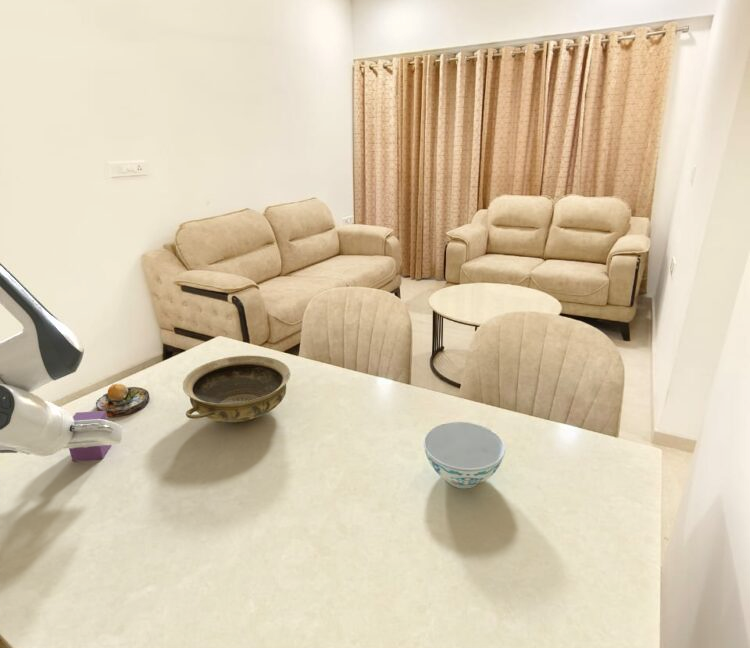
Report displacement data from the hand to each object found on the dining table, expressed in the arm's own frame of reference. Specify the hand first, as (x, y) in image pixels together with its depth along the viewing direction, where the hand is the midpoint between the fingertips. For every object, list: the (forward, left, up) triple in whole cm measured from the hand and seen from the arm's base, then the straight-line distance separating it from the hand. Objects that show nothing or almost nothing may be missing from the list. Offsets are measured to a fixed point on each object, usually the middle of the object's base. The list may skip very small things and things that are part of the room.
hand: (80, 444), depth 101 cm
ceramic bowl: (+33, -2, -5) cm, 33 cm away
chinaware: (+58, -50, -5) cm, 77 cm away
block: (+2, +3, -4) cm, 6 cm away
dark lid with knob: (+11, +20, -5) cm, 24 cm away
